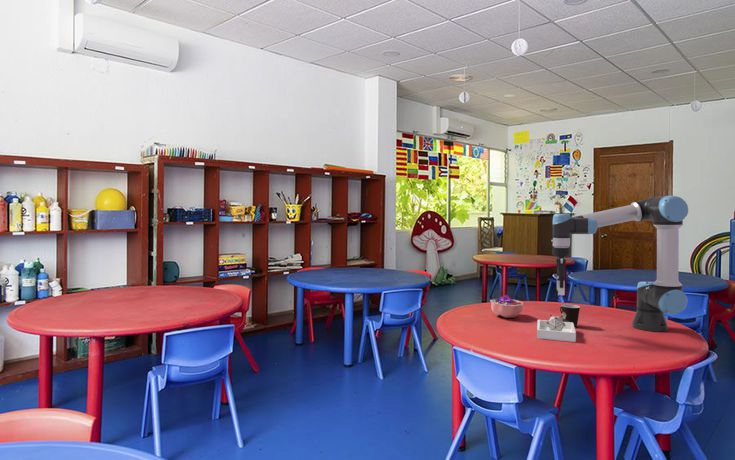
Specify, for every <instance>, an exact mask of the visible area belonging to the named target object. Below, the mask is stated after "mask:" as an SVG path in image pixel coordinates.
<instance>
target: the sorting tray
mask: <svg viewBox="0 0 735 460" xmlns="http://www.w3.org/2000/svg"><path fill="white" fill-rule="evenodd" d="M548 321H549V320H546V319H543V320H542V319H537V327H536V328H537V329H536V339H538V340H550V341H559V342H560V341H561V342H562V341H563V342H571V343H577V341H576V340H577V332H576V327H575V328H574V324H573V323H572V322H563V323H565V325H566V326H564V327H563V329H562V331H553V330H550V328H549V325H548V324H547V323H546V322H548Z"/></svg>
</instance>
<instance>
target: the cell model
mask: <svg viewBox="0 0 735 460" xmlns="http://www.w3.org/2000/svg"><path fill="white" fill-rule="evenodd" d="M489 301H490V304H491V305H490V307H491V311H492V312H493V313H494V314H495V315H498V316H501V317H503V318H506V319H507V318H508V319H509V318H516V317H517V316H519V314H520V313H522V312H523V310H524V302H523V301H521V300H518V299H517V300H516V299H512V298H511V297H510V296H509V295H507V294H503V295H501V296H500V297H499V298H493V299H490V300H489Z"/></svg>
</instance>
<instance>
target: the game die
mask: <svg viewBox="0 0 735 460" xmlns="http://www.w3.org/2000/svg"><path fill="white" fill-rule="evenodd" d="M547 321H548V322H546V323H547V324H548V325H549V328H550V330H553V331H562V329H563V327H564V326H566V325H565V323H563V319H562V315H561V316H556V315H555V316H554V315H552V314H550V317H549V319H548V320H547Z"/></svg>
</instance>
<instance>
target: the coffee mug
mask: <svg viewBox="0 0 735 460" xmlns="http://www.w3.org/2000/svg"><path fill="white" fill-rule="evenodd" d="M580 309H581V306H580V305H575V304H570V303H569V304H561V306H560V307H559V311H560V313H561V316H562V320H563V322H572V323H573V324H574V328H575V329H576V328H577V327H578V321H579V316H580Z"/></svg>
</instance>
